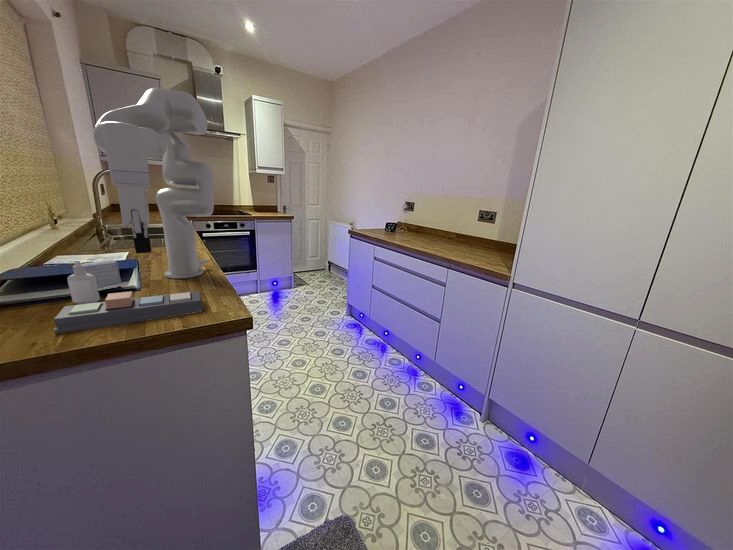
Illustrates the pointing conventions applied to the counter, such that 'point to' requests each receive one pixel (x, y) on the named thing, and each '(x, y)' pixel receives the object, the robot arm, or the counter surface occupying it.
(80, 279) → the eye dropper bottle
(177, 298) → the key
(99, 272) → the medicine box
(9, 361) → the counter surface
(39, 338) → the counter surface
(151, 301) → the key
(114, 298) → the key
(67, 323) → the keypad housing
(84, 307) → the key
